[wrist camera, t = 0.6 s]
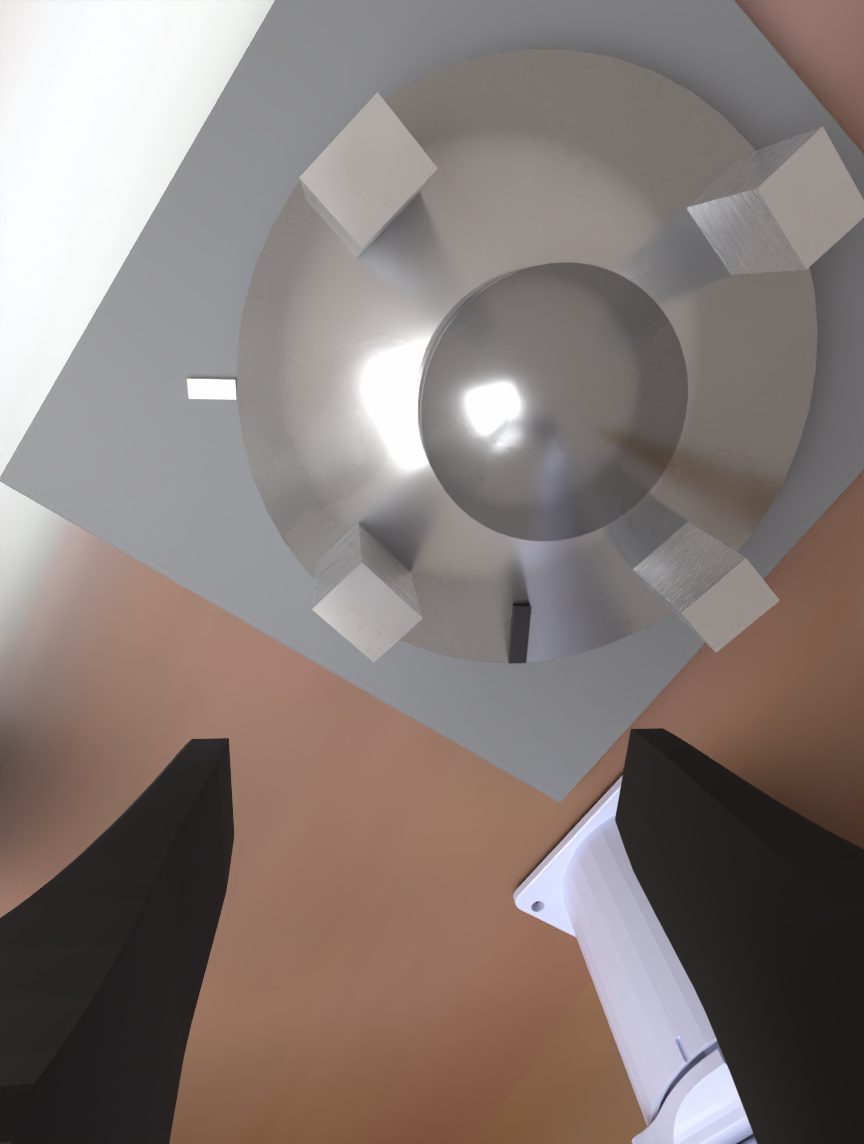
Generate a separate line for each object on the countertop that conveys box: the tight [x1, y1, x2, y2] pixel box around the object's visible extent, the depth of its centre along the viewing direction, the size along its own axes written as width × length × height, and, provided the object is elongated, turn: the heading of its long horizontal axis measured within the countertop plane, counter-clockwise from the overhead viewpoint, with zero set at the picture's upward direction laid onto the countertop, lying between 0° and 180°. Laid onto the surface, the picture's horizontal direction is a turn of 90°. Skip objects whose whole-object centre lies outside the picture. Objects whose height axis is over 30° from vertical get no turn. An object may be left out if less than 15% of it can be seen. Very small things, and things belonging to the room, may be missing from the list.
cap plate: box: [0, 0, 864, 803], centre depth 20 cm, size 20×20×1 cm
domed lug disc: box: [237, 49, 864, 664], centre depth 17 cm, size 15×15×4 cm
